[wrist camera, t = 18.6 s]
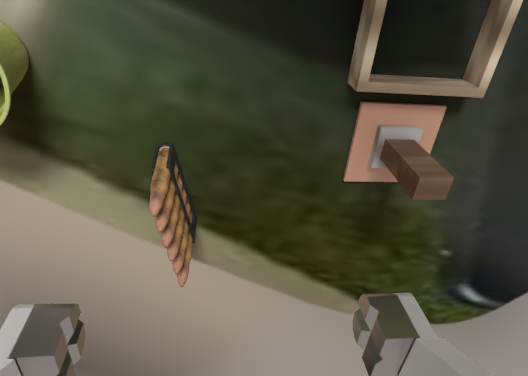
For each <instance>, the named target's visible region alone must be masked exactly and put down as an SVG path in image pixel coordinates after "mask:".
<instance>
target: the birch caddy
mask: <svg viewBox="0 0 528 376" xmlns="http://www.w3.org/2000/svg"><path fill="white" fill-rule="evenodd" d="M522 2H523V0H491V2H490V5H489V8H488V10H487V13H486V16H485V19H484V21H483V24H482V27H481V30H480V32H479V35H478V38H477V40H476V43H475V46H474V49H473V51H472V54H471V57H470V60H469V62H468V65H467V68H466V70H465V73H464V76H463V79H449V78H431V77H414V76H397V75H379V74H370V72H371V68H372V64H373V59H374V55H375V51H376V47H377V42H378V38H379V34H380V30H381V25H382V21H383V17H384V13H385V8H386V4H387V0H364V3H363V8H362V13H361V18H360V22H359V27H358V32H357V37H356V42H355V47H354V51H353V56H352V61H351V66H350V71H349V76H348V81H347V83H348V84H349V85H350V86H351V87H352V88H353V89H354V90H355V91H358V92H378V93H398V94H418V95H438V96H458V97H478V98H483V97H484V95H485V93H486V90H487V88H488V85H489V83H490V80H491V78H492V75H493V73H494V70H495V68H496V66H497V63H498V61H499V58H500V56H501V53H502V51H503V48H504V46H505V43H506V41H507V38H508V36H509V34H510V31H511V29H512V26H513V24H514V21H515V19H516V16H517V14H518V11H519V9H520V6H521V4H522Z"/></svg>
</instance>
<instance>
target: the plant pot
mask: <svg viewBox="0 0 528 376" xmlns="http://www.w3.org/2000/svg"><path fill="white" fill-rule="evenodd" d="M28 65H29V59H28V53H27V50H26V49H25V47H24V45H23V44H22V42H21V41H20V39H19V37H18V36H17V34H16V33H15V32H14V31H13V30H12V29H11V28H9V27H8V26H6V25H5V24H3V23H2V22H0V125H1V124H2V123H3V122H4V120H5V119H6V117H7V115H8V113H9V110H10V106H11V94H12V93H13V91H14V90H15V89H16V87H17V86H18V84H19V83H20V82H21V80H22V79H23V77H24V76H25V74H26V72H27V70H28Z"/></svg>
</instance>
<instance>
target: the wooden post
mask: <svg viewBox="0 0 528 376" xmlns="http://www.w3.org/2000/svg"><path fill="white" fill-rule="evenodd" d="M422 133H423V129H422V128H421V127H420V126H401V125H378V128H377V132H376V136H375V139H374V143H373V147H372V151H371V155H370V158H369V162H368V164H369V165H370V167H371V168H388V169H389V171H390V172H391V173H392V174H393V176H394V177H395V178H396V180H397V181H398V182H399V183H400V185H401V186H402V187H403V188H404V190H405V191H406V192H407V193H408V195H409V196H410V197H411V198H412V200H445V199H446V197H447V194H448V192H449V189H450V187H451V184H452V182H453V180H454V177H453V176H452V175H451V174H450V173H449V172H447V171H446V170H445V169H444V168H443V167H442V166H441V165H440V164H439V163H438V162H437V161H436V160H435V159H434V158H433V157H432V156H431V155H430V154H429V153H428V152H427V151H425V150H424V149H423V148H422V147H421V146H420V145H419V142H420V139H421V136H422Z"/></svg>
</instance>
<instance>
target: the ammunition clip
mask: <svg viewBox="0 0 528 376" xmlns="http://www.w3.org/2000/svg"><path fill="white" fill-rule="evenodd" d="M151 172H152V174H153V178H152V182H151V195H150V212H151V215H152V216H153V217H154V216H156V227H157V230H158V232H162V242H163V245H164V247H167V253H168V257H169V260H170V261H172V265H173V270H174V272H175V274H177V278H178V283H179V285H180V286H181V287H183V285H184V284H185V282H186V280H187V277H188V271H189V263H190V260H191V256H192V243H195V231H196V214H195V211H194V208H193V205H192V202H191V198H190V195H189V192H188V189H187V186H186V183H185V179H184V176H183V173H182V170H181V167H180V164H179V160H178V157H177V154H176V151H175V148H174V145H173V143H167V144H162V145H157V146H156V150H155V154H154V159H153V164H152V168H151Z"/></svg>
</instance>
